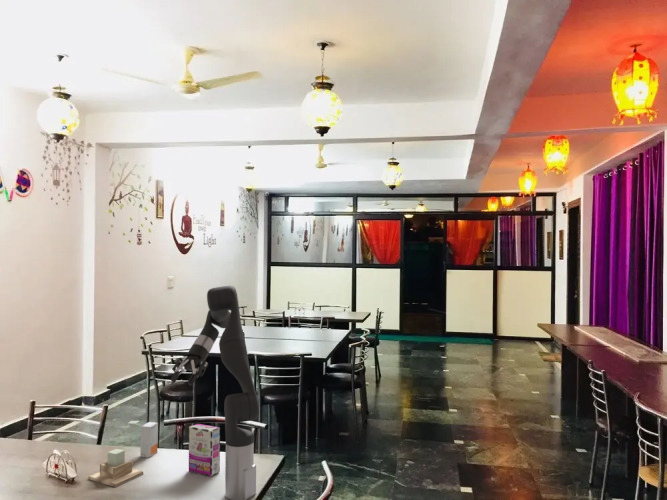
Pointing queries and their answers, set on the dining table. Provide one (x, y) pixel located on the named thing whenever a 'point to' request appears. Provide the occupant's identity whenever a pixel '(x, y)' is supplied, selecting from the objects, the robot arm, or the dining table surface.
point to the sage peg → (116, 457)
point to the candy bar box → (204, 449)
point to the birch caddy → (115, 474)
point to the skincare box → (149, 439)
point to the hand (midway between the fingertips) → (180, 382)
